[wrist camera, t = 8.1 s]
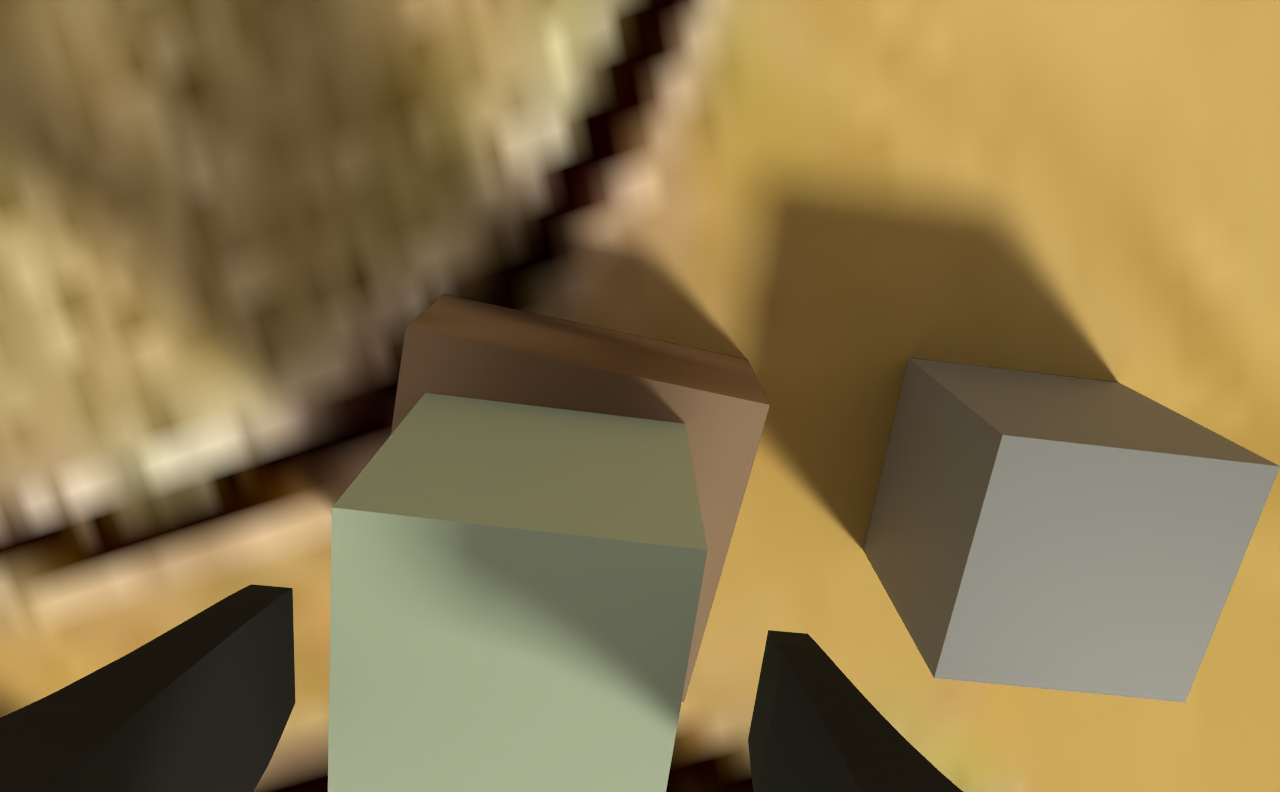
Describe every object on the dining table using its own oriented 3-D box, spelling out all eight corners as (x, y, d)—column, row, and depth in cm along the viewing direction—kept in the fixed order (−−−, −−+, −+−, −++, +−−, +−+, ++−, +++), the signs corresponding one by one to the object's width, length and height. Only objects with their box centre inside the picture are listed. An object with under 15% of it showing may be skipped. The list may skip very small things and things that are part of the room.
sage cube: (414, 618, 17) (327, 808, 12) (425, 392, 15) (331, 507, 11) (651, 644, 17) (657, 839, 12) (685, 423, 16) (707, 550, 11)
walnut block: (406, 559, 20) (361, 642, 17) (446, 291, 18) (405, 327, 15) (675, 611, 21) (683, 701, 18) (745, 356, 19) (769, 404, 16)
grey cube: (862, 548, 20) (933, 677, 15) (907, 356, 19) (1002, 435, 14) (1056, 569, 20) (1184, 702, 16) (1116, 381, 19) (1279, 466, 14)
